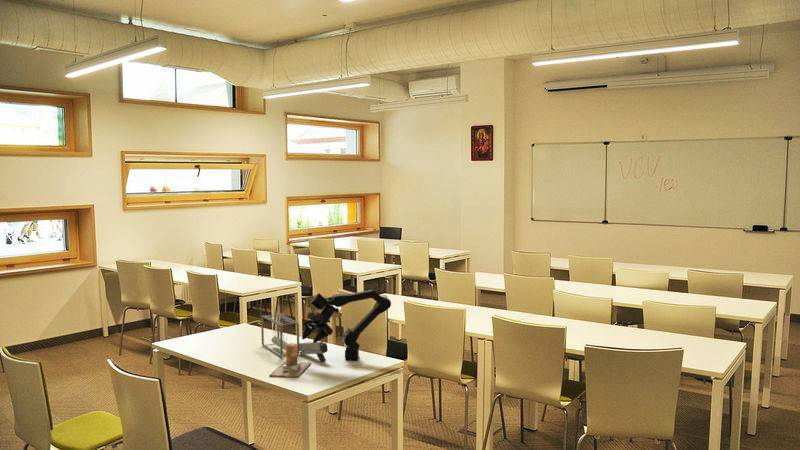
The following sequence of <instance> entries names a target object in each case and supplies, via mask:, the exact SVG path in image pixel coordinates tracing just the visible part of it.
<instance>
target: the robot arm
mask: <svg viewBox="0 0 800 450" xmlns="http://www.w3.org/2000/svg"><path fill="white" fill-rule="evenodd" d="M369 299H372V300H374V301H375V303H374V305H373V307H372V309H371V310H370V311H369V312H368V313H367V314H366V315H365V316H364V317H363V318H362V319H361V320H359V322H358V323H357V324H356V325H354V327H353V328H350V327H348V328H347V329H346V330H345V331H344V332H343V333H342V336H341V340H342V342H343V344H345V346H346V347H345V350H344V360H345V361H348V362H349V361H351V362H352V361H356V362H358V360H359V359H360V358H361V357H360V344H359V343H358V342H357V341H358V339H359V337H360V335H361V334H362V332H364V330H365V329H367V328H368V326H369V325H370V324H371V323H372V322H373V321H374V320H375V319H376V318H377V317H378V316H380V315H381V314H383V313H385V312H386V311H387V310H389V309H390V308H391V306H392V302H391V300H390V299H389V297H386V296H382V295H380V294H379V293H378V292H376V291H375V290H374V289H368V290H364V291H357V292H354V293H353V292H352V293H348V294H347V293H346V294H345V293H335V294H333V295H331V296H330V297H326V298H325V297H324V296H323V295H322V294H321V293H320V292H318V293H316V294H315V295H314V296H313V297H312V298H311V299H310V301H309V304H310V305H312V306H313V307H314V308H315V309H317V310H318V311H319V310H321V311H320V312H316V313H313V312H308V313H307V315H306V316H307V317H306V318H305V319H304V320H302V325H303V326H304V328H303V329H304V330H303V332H302V337H301V340H305V339H307V338H308V336H310V335H311V334H312V333H314V330H315V329H317V330H318V332H317V333H316V336H315V337H314V339H313V341H312V342H313V343H316V342H320V340H321V341H322V339H325V338H326V337H328V336H332V334H333V331H334V329H332V327H330V325H329V324H328V323H331V318H332V317H333V315H334V314H339V313H340V311H339V310H340V309H339V308H340V307H341V308H342V307H343V306H346V305H347V304H349V303H352V302H358V301H362V300H363V301H364V300H369Z"/></svg>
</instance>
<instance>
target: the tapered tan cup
mask: <svg viewBox="0 0 800 450" xmlns="http://www.w3.org/2000/svg"><path fill="white" fill-rule="evenodd" d="M285 355H286V356H285V362H286V365H288V366H295V365H297V364H298V362H299V361H298V358H299V357H298V355H297V343H294V342H291V343H288V344H286V350H285Z"/></svg>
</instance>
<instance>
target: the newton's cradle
mask: <svg viewBox="0 0 800 450" xmlns="http://www.w3.org/2000/svg"><path fill="white" fill-rule="evenodd" d="M274 316H276V317H273V314H269V315H267V314H266V315H261V317H260V318H261V319H260V320H261V321H260V322H261V323H260V324H261V325H260V326H261V330H260V331H261V345H262V347H264V348H265V349H266V350H267V351H270V352H271V353H273V354H274V355H276V356H277V357H279V358H283V357H286V354H285V355H284V354H283V353H284V352H283V351H284V350H285V351H286V344H289V343H288V342H287V338H288V337H286V338H285V336H283V334H285V332H286V331H287V332H286V333H287V334H288V332H289V330H284V333H283V327H284V328H286V327H290V325H294V324H296V344H297V356H298V355H300V351H299V343H300V325H299V322H298V321H296V320H294V319H292V318H290V317H288V316H286V315H283V314H282V313H277V314H276V313H275V314H274ZM264 319H265V320H268V321H270V322H271V325H273V324H274V325H276V326H273V327H274V329H275V327H276V329H275V331H272V334H273V337H272V338H271V343H269V344H265V341H264V338H265V337H264V332H265V331H264ZM284 322H288V323H284ZM286 325H287V326H286ZM273 327H272V330H274V329H273ZM274 333H275V334H274ZM271 345H272V346H273V345H276V346H277V347H280V353H278V352H276V351H275V350H274V349H272V348H271V347H269V346H271Z"/></svg>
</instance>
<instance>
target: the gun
mask: <svg viewBox="0 0 800 450" xmlns="http://www.w3.org/2000/svg"><path fill="white" fill-rule="evenodd" d="M328 350H329V349H328V344H327V343H326V342H324V341H322V340H321V341H317V342H316V343H313V341H310V342H308V341H307V342H299V355H316V356H317V358H318V360H319V362H320V363H321V362H323V363H324V362H326V361H327V360H326V358H325V355H324V354H325V353H327V352H328Z"/></svg>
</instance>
